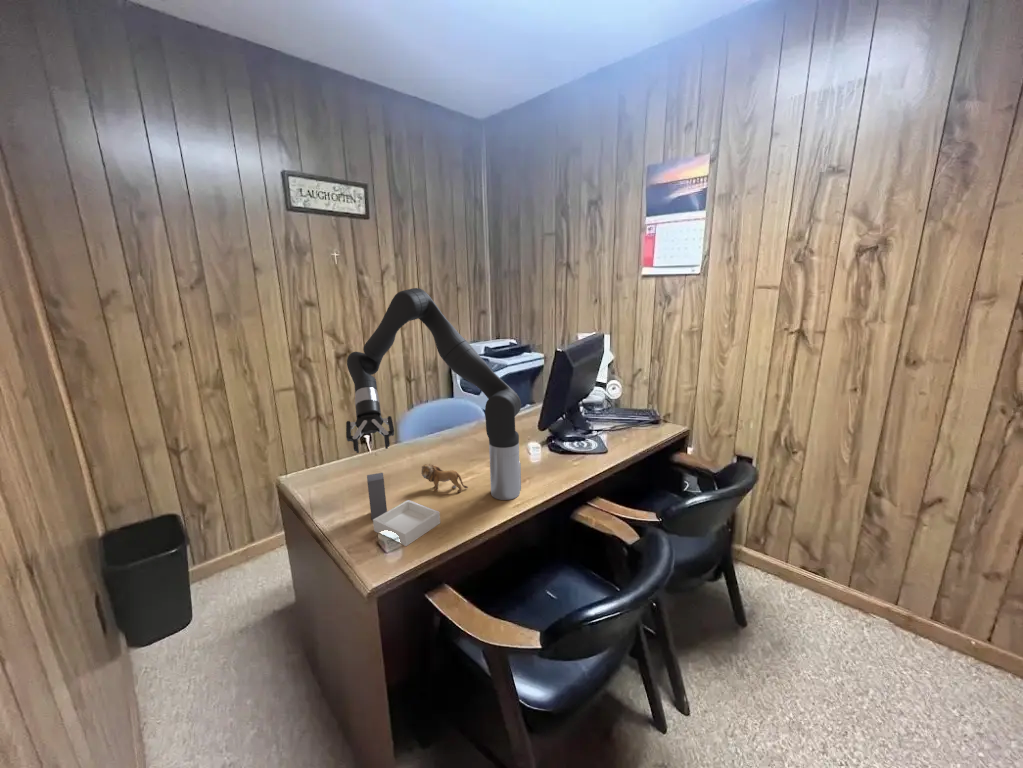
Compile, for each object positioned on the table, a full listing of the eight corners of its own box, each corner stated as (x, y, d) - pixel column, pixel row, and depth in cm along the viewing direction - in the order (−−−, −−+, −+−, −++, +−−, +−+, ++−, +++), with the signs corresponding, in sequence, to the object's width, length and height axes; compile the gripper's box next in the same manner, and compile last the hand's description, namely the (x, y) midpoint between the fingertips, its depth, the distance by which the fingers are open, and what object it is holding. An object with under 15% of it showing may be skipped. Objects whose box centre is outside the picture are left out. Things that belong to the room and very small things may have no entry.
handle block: (386, 509, 125) (382, 472, 122) (387, 516, 121) (383, 478, 118) (371, 512, 124) (366, 475, 121) (371, 520, 120) (367, 481, 117)
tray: (409, 510, 125) (408, 499, 124) (440, 523, 118) (439, 511, 117) (374, 531, 114) (372, 519, 114) (406, 546, 107) (404, 534, 107)
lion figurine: (421, 494, 134) (419, 467, 132) (424, 486, 139) (422, 461, 137) (467, 492, 134) (465, 466, 132) (468, 485, 140) (467, 459, 137)
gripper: (343, 401, 132) (346, 448, 124) (390, 396, 136) (396, 441, 129) (345, 412, 138) (348, 458, 130) (390, 407, 143) (396, 451, 135)
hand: (372, 449), depth 129 cm, fingers open, 8 cm apart
